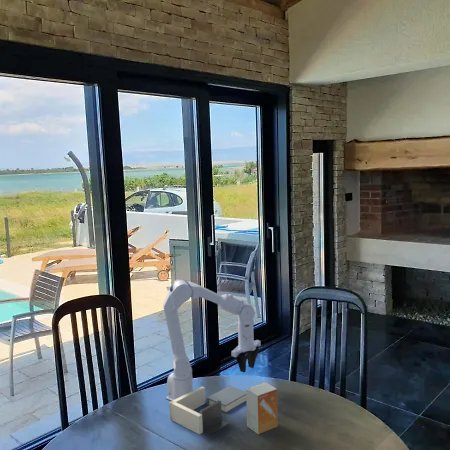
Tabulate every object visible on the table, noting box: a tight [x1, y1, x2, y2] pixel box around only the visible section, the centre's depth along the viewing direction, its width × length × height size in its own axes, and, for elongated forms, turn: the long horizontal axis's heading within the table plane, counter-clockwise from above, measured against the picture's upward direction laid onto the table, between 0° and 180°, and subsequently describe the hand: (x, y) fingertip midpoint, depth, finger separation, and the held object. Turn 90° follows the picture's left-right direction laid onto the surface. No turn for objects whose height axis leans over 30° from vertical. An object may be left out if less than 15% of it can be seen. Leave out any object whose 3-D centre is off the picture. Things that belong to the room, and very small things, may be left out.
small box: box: [245, 381, 279, 435], centre depth 150 cm, size 8×6×13 cm
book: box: [206, 385, 246, 413], centre depth 168 cm, size 9×12×3 cm
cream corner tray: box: [168, 385, 206, 435], centre depth 157 cm, size 14×15×6 cm
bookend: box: [199, 401, 229, 436], centre depth 151 cm, size 4×9×7 cm, turn 137°
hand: (247, 369), depth 175 cm, fingers open, 4 cm apart
